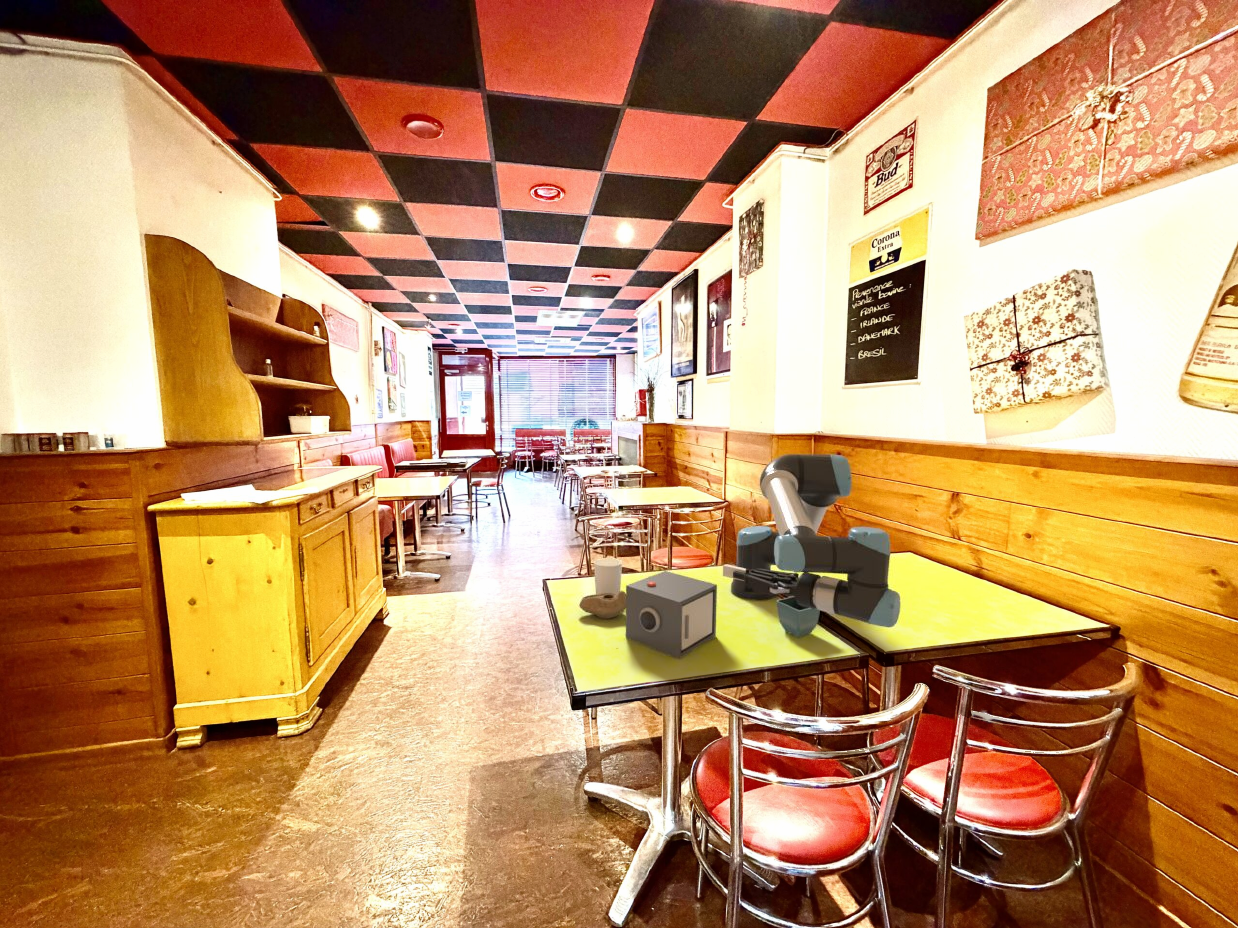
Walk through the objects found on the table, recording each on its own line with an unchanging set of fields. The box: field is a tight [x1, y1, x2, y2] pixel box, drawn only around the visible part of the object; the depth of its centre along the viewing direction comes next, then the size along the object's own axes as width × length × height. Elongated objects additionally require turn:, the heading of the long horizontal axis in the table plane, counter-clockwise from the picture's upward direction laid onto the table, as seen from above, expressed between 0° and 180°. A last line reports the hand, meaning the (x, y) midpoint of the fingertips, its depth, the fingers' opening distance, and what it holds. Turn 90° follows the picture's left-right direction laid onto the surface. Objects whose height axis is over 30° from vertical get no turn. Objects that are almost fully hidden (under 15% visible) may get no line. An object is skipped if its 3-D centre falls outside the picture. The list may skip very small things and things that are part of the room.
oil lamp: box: [578, 590, 626, 620], centre depth 150 cm, size 11×15×8 cm
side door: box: [681, 591, 713, 650], centre depth 129 cm, size 15×1×12 cm, turn 137°
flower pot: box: [776, 596, 821, 638], centre depth 138 cm, size 9×9×9 cm
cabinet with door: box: [625, 570, 718, 660], centre depth 134 cm, size 20×18×16 cm
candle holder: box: [593, 557, 623, 595], centre depth 167 cm, size 10×10×12 cm
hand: (724, 569), depth 122 cm, fingers closed
